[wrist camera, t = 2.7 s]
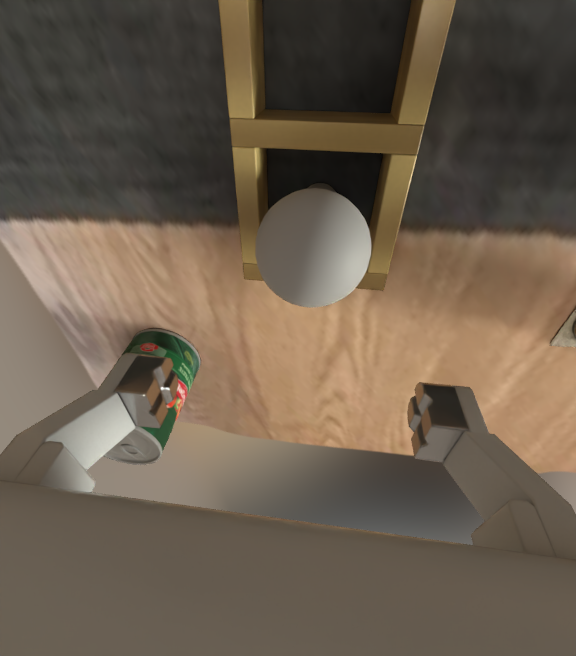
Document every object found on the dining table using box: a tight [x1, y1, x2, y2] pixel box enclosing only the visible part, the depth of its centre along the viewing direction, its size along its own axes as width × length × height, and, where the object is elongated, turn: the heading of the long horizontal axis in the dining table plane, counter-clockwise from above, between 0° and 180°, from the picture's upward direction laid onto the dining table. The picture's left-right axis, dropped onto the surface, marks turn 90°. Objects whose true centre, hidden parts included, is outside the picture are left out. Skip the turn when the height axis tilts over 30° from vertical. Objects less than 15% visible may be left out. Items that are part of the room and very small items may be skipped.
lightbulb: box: [255, 183, 371, 307], centre depth 19 cm, size 6×6×11 cm
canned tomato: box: [103, 329, 201, 465], centre depth 33 cm, size 8×8×11 cm
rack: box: [218, 0, 456, 290], centre depth 19 cm, size 19×10×4 cm, turn 179°
